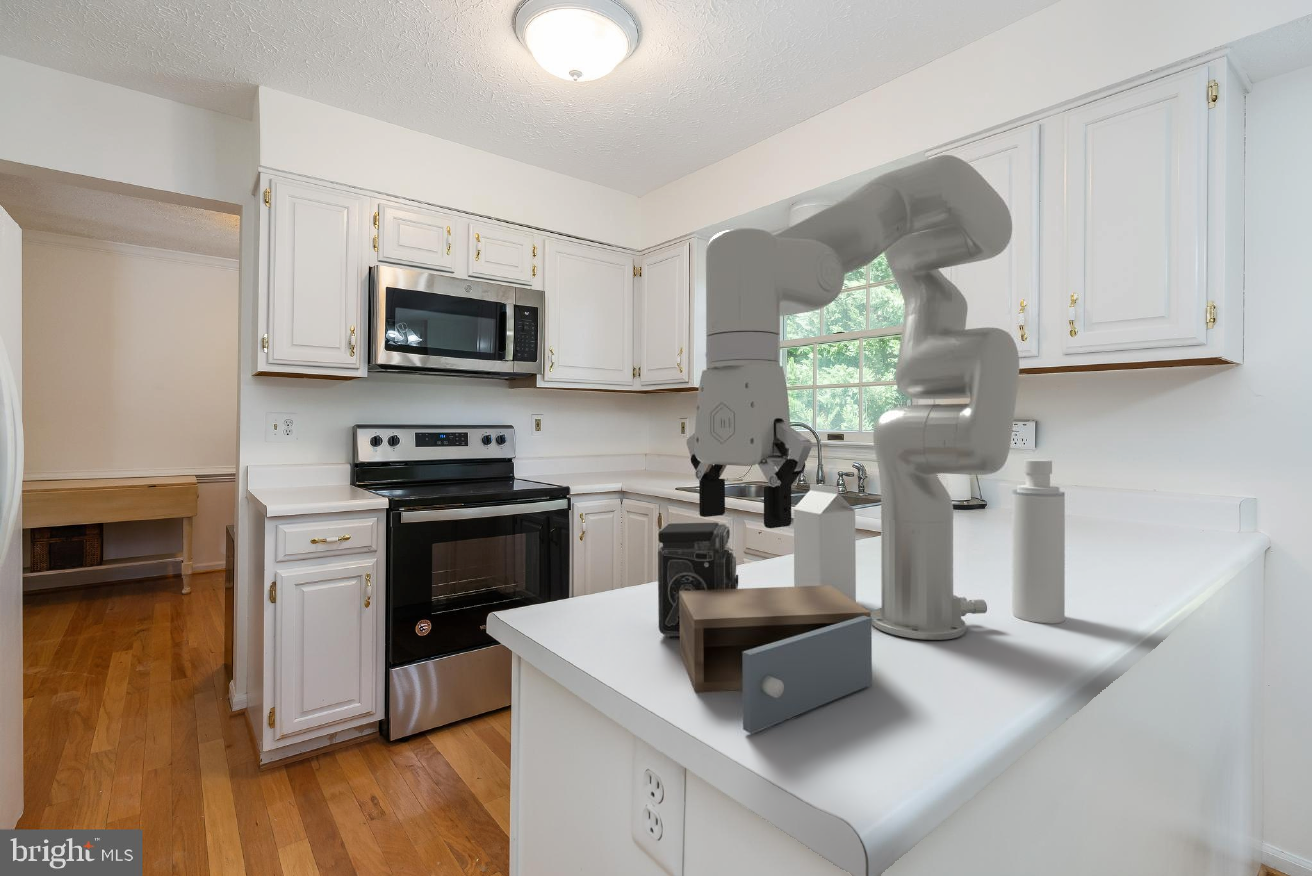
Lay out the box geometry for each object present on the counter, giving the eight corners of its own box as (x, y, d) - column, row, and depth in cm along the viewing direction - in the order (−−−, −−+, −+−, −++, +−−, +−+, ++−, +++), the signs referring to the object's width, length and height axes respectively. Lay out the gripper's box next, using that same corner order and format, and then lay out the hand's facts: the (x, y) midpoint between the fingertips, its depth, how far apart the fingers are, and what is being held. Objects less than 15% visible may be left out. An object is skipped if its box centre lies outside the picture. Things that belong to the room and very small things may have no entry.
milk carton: (820, 608, 100) (820, 488, 99) (793, 597, 106) (793, 484, 106) (856, 603, 103) (855, 486, 102) (827, 592, 109) (827, 482, 109)
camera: (734, 646, 83) (733, 533, 83) (656, 642, 85) (655, 531, 85) (740, 622, 93) (739, 521, 93) (670, 618, 95) (669, 519, 95)
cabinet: (830, 645, 83) (830, 585, 83) (870, 682, 71) (870, 612, 71) (679, 653, 81) (679, 590, 81) (694, 692, 69) (694, 619, 69)
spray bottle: (1036, 608, 98) (1036, 448, 98) (1075, 621, 92) (1076, 449, 92) (1001, 612, 97) (1001, 449, 96) (1039, 625, 90) (1039, 450, 90)
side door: (864, 681, 70) (863, 615, 70) (882, 688, 68) (882, 621, 68) (743, 729, 60) (742, 651, 60) (761, 739, 58) (760, 659, 58)
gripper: (663, 360, 70) (664, 515, 70) (779, 342, 56) (779, 536, 56) (715, 364, 74) (715, 509, 75) (834, 348, 60) (834, 528, 60)
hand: (743, 520), depth 65 cm, fingers open, 9 cm apart
